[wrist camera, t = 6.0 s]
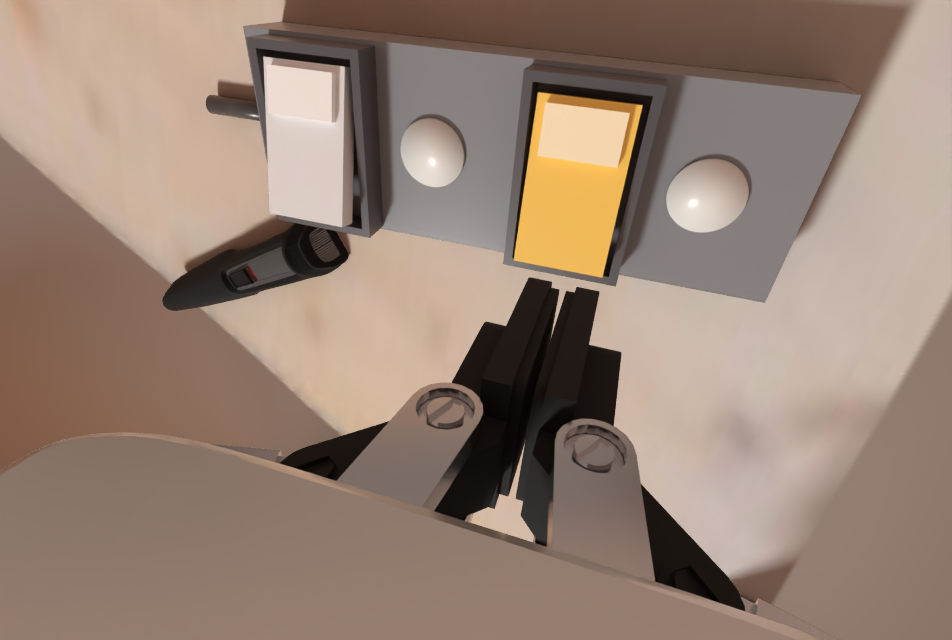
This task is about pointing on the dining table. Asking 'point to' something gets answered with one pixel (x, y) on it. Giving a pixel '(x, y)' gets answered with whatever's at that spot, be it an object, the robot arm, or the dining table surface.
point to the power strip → (509, 138)
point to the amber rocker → (575, 181)
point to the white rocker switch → (309, 140)
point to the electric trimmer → (259, 268)
